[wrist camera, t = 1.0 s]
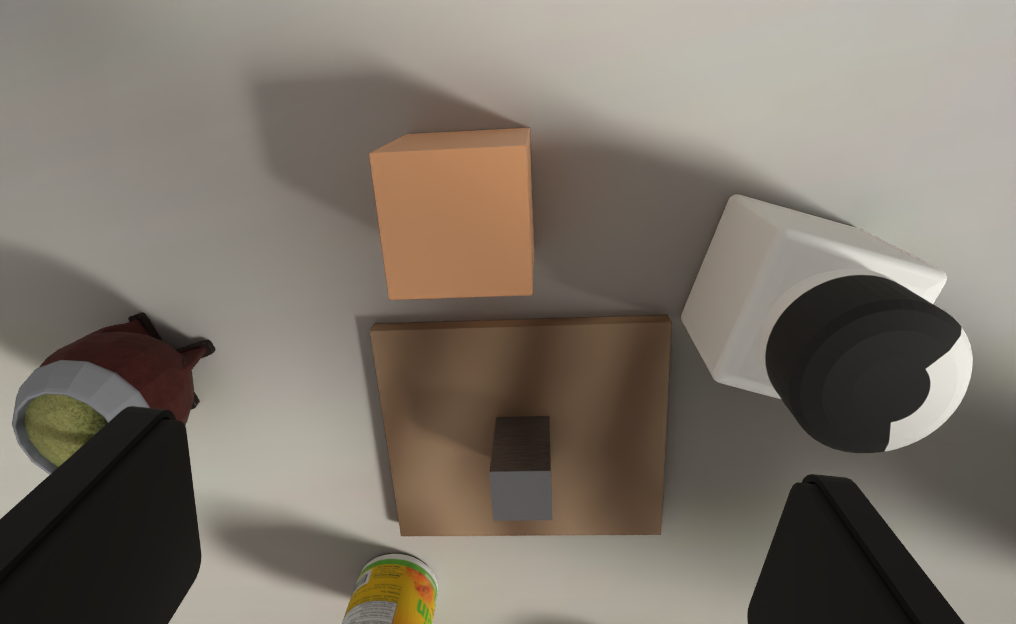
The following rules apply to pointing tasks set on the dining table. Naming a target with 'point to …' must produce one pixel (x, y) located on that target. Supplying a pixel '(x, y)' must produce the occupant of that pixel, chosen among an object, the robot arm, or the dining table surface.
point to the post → (521, 469)
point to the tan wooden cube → (456, 213)
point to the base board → (526, 392)
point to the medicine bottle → (828, 327)
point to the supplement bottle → (393, 592)
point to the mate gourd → (102, 387)
